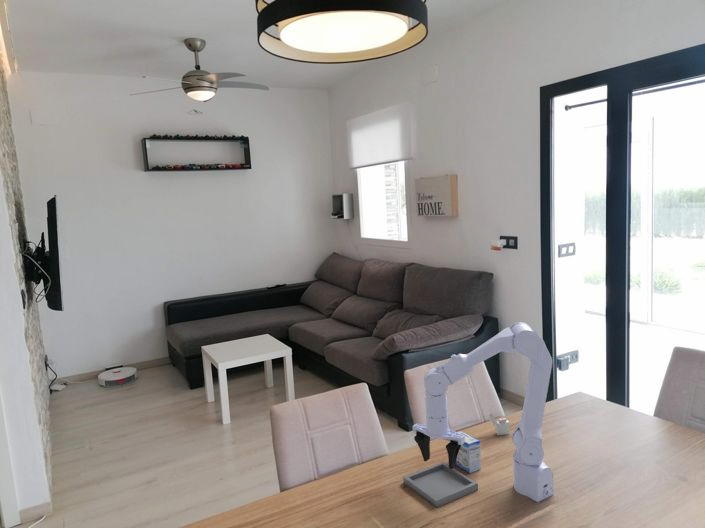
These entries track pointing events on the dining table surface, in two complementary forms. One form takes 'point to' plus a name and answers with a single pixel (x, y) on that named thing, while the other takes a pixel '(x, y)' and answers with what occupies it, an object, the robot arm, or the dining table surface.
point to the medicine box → (469, 454)
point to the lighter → (500, 425)
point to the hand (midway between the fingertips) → (439, 463)
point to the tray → (440, 484)
